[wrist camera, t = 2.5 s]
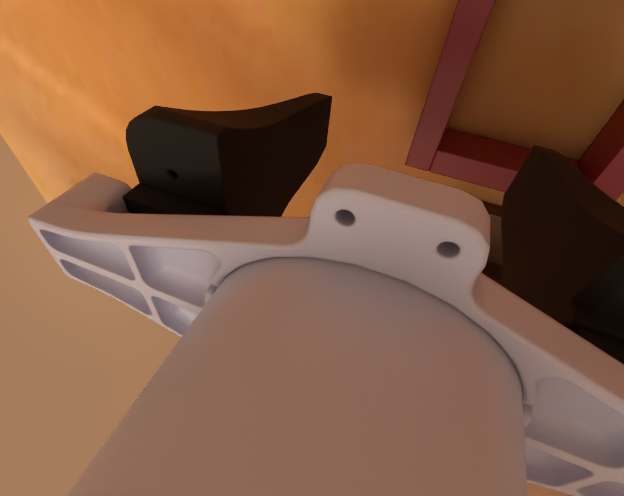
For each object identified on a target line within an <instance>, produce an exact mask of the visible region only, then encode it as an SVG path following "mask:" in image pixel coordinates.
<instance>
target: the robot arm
mask: <svg viewBox="0 0 624 496" xmlns="http://www.w3.org/2000/svg"><path fill="white" fill-rule="evenodd" d="M331 102H332V96H328V95H324V94H320V93H311V94H307V95H304V96H300V97H297V98H293V99H290V100H287V101H283V102H280V103H276V104H272V105H268V106H264V107H259V108H253V109H246V110H237V111H193V110H183V109H175V108H168V107H161V106H154V107H152V108H150V109H149V110H147V111H145V112H143V113H142V114H140V115H138V116H137V117H135V118H134V119H133V120H131V121H130V122H129V124H128V126H127V129H126V142H127V146H128V150H129V153H130V156H131V159H132V162H133V165H134V168H135V171H136V174H137V177H138V179H139V182H140V183H139V184H138V185H137V186H135V187H134V188H133V189H131V188H130V187H129V186H128V185H127V184H126V183H124V182H122V181H120V180H117V179H114V178H111V177H108V176H105V175H102V174H99V173H93V174H92V175H90V176H89V177H87V178H86V179H84V180H83V181H81V182H80V183H78V184H77V185H75V186H74V187H72V188H71V189H69V190H68V191H66V192H65V193H63V194H62V195H60V196H59V197H57V198H56V199H54V200H53V201H51V202H50V203H48V204H47V205H45V206H44V207H42V208H41V209H39V210H38V211H36V212H35V213H33V214H32V215H30V216H29V217H28V222H29V223H30V225H31V226H32V228H33V229H34V231H35V232H36V233H37V235H38V236H39V238H40V239H41V240H42V242H43V243H44V245H45V246H46V248H47V249H48V250H49V252H50V253H51V255H52V256H53V258H54V259H55V260H56V262H57V263H58V265H59V266H60V268H61V269H62V270H63V272H64V273H65V275H66V276H68V277H70V278H72V279H75V280H77V281H79V282H81V283H83V284H86V285H88V286H90V287H92V288H94V289H96V290H98V291H100V292H102V293H104V294H106V295H108V296H110V297H113V298H114V299H116V300H118V301H120V302H121V303H123V304H125V305H127V306H128V307H130V308H132V309H134V310H136V311H137V312H139V313H141V314H142V315H144V316H146V317H148V318H149V319H151V320H153V321H155V322H156V323H158V324H160V325H161V326H163V327H165V328H167V329H168V330H170V331H172V332H174V333H175V334H177V335H178V336H180V337H181V339H180V340H179V341H178V343H177V344H176V346H175V347H174V348H173V350H172V351H171V352H170V354H169V355H168V357H167V358H166V359H165V361H164V362H163V363H162V365H161V366H160V367H159V369H158V370H157V372H156V373H155V374H154V376H153V377H152V379H151V380H150V381H149V383H148V384H147V385H146V387H145V388H144V389H143V391H142V392H141V394H140V395H139V396H138V398H137V399H136V400H135V402H134V403H133V405H132V406H131V407H130V409H129V410H128V412H127V413H126V414H125V415H124V417H123V418H122V420H121V421H120V422H119V424H118V425H117V427H116V428H115V429H114V431H113V432H112V433H111V435H110V436H109V438H108V439H107V440H106V442H105V443H104V444H103V446H102V447H101V449H100V450H99V451H98V453H97V454H96V455H95V457H94V458H93V460H92V461H91V462H90V463H89V465H88V466H87V468H86V469H85V470H84V472H83V473H82V474H81V476H80V477H79V479H78V480H77V481H76V483H75V484H74V485H73V487H72V488H71V490H70V491H69V493H68V494H67V495H66V496H528V494H527V482H530V483H533V484H536V485H540V486H543V487H547V488H550V489H553V490H557V491H560V492H563V493H567V494H570V495H573V496H624V207H623V206H622V205H620V204H619V203H617V202H616V201H615V200H613V199H612V198H610V197H609V196H608V195H607V194H605V193H604V192H603V191H602V190H600V189H599V188H598V187H597V186H596V185H594V184H593V183H592V182H591V181H590V180H589V179H588V178H586V177H585V176H584V175H583V174H582V173H581V172H580V171H579V170H578V169H577V168H575V167H574V166H573V165H572V164H571V163H570V162H569V161H568V160H567V159H565V158H564V157H563V156H562V155H561V154H559V153H558V152H556V151H554V150H551V149H547V148H543V147H539V146H535V145H534V147H533V148H532V150H531V151H530V153H529V155H528V156H527V158H526V160H525V161H524V163H523V164H522V166H521V168H520V169H519V171H518V173H517V174H516V176H515V178H514V179H513V181H512V182H511V184H510V186H509V187H508V189H507V191H506V192H505V194H504V199H503V205H502V212H501V234H502V256H503V274H502V283H501V285H500V284H498V283H497V282H495V281H493V280H492V279H490V278H489V277H487V276H486V275H484V274H483V273H481V272H482V270H483V269H484V268H485V266H486V263H487V258H488V254H489V250H490V216H489V214H488V212H487V210H486V208H485V206H484V205H483V203H482V201H481V200H479V199H477V198H476V197H474V196H472V195H470V194H468V193H466V192H465V191H463V190H461V189H457V188H453V187H450V186H446V185H443V184H439V183H435V182H432V181H428V180H424V179H421V178H417V177H414V176H410V175H406V174H403V173H399V172H395V171H392V170H388V169H384V168H381V167H377V166H374V165H370V164H346V165H344V166H343V167H341V168H339V169H337V170H335V171H333V172H332V173H331V175H330V177H329V178H328V180H327V181H326V183H325V185H324V186H323V188H322V190H321V191H320V193H319V194H318V196H317V198H316V200H315V202H314V204H313V206H312V209H311V211H310V217H281V216H282V214H283V212H284V210H285V208H286V207H287V205H288V203H289V202H290V200H291V199H292V197H293V196H294V195H295V193H296V192H297V190H298V189H299V188H300V186H301V185H302V184H303V182H304V181H305V180H306V178H307V177H308V176H309V174H310V173H311V171H312V170H313V169H314V167H315V166H316V164H317V163H318V161H319V159H320V157H321V155H322V153H323V151H324V149H325V147H326V143H327V135H328V126H329V118H330V110H331Z"/></svg>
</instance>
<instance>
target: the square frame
mask: <svg viewBox="0 0 624 496" xmlns="http://www.w3.org/2000/svg"><path fill="white" fill-rule="evenodd" d="M495 1H496V0H459V1H458V4H457V7H456V10H455V13H454V16H453V19H452V22H451V25H450V28H449V31H448V34H447V37H446V40H445V43H444V46H443V50H442V53H441V56H440V59H439V62H438V65H437V68H436V71H435V74H434V77H433V80H432V83H431V86H430V89H429V92H428V95H427V99H426V102H425V105H424V108H423V111H422V114H421V117H420V120H419V123H418V126H417V129H416V132H415V135H414V138H413V141H412V145H411V148H410V151H409V154H408V157H407V160H406V163H405V165H407V166H411V167H415V168H418V169H422V170H426V171H430V172H433V173H437V174H440V175H444V176H448V177H451V178H455V179H459V180H462V181H466V182H470V183H473V184H477V185H481V186H484V187H488V188H492V189H495V190H499V191H502V192H506V191H507V189H508V187H509V186H510V184H511V182H512V181H513V179H514V178H515V176H516V174H517V173H518V171H519V169H520V168H521V166H522V164H523V163H524V161H525V160H526V158H527V156H528V155H529V153H530V151H531V150H532V149H528V148H524V147H520V146H516V145H512V144H508V143H504V142H500V141H496V140H492V139H488V138H483V137H479V136H475V135H471V134H467V133H463V132H459V131H455V130H451V129H447V128H446V126H447V123H448V121H449V118H450V116H451V113H452V111H453V108H454V106H455V103H456V100H457V98H458V95H459V93H460V90H461V88H462V85H463V83H464V80H465V77H466V75H467V72H468V70H469V67H470V65H471V62H472V60H473V57H474V54H475V52H476V49H477V47H478V44H479V42H480V39H481V37H482V34H483V31H484V29H485V26H486V24H487V21H488V19H489V16H490V14H491V11H492V8H493V6H494V3H495ZM565 159H567V160H568V161H569V162H570V163H571V164H572V165H573V166H574V167H575V168H577V169H578V170H579V171H580V172H581V173H582V174H583V175H584V176H585V177H586V178H588V179H589V180H590V181H591V182H592V183H593V184H594V185H596V186H597V187H598V188H599V189H600V190H602V191H603V192H604V193H605V194H607V195H608V196H609V197H610V198H612V199H613V200H616V199H617V198H618V197H619V196H620V195H621V194H622V193H623V191H624V101H623V103H622V104H621V105H620V107H619V108H618V109H617V111H616V112H615V113H614V115H613V116H612V117H611V119H610V120H609V121H608V123H607V124H606V125H605V127H604V128H603V129H602V131H601V132H600V133H599V135H598V136H597V137H596V139H595V140H594V141H593V143H592V144H591V145H590V147H589V148H588V149H587V151H586V152H585V153H584V155H583V156H582V158H581V159H580V160H579V162H578V161H576V160H572V159H568V158H565Z"/></svg>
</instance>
